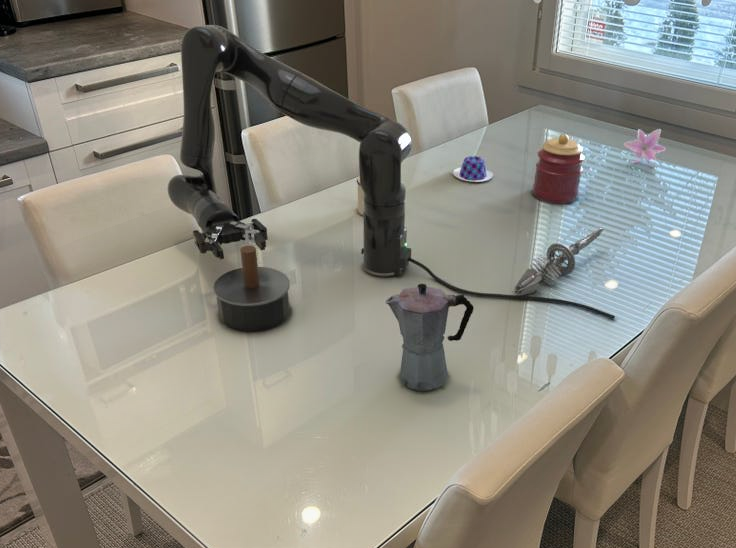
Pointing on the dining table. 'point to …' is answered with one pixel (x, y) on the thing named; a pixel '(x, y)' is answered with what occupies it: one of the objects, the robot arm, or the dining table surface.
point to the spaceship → (553, 264)
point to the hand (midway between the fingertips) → (242, 250)
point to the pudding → (473, 170)
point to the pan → (254, 315)
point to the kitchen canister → (558, 170)
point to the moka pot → (425, 333)
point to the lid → (251, 282)
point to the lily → (646, 145)
